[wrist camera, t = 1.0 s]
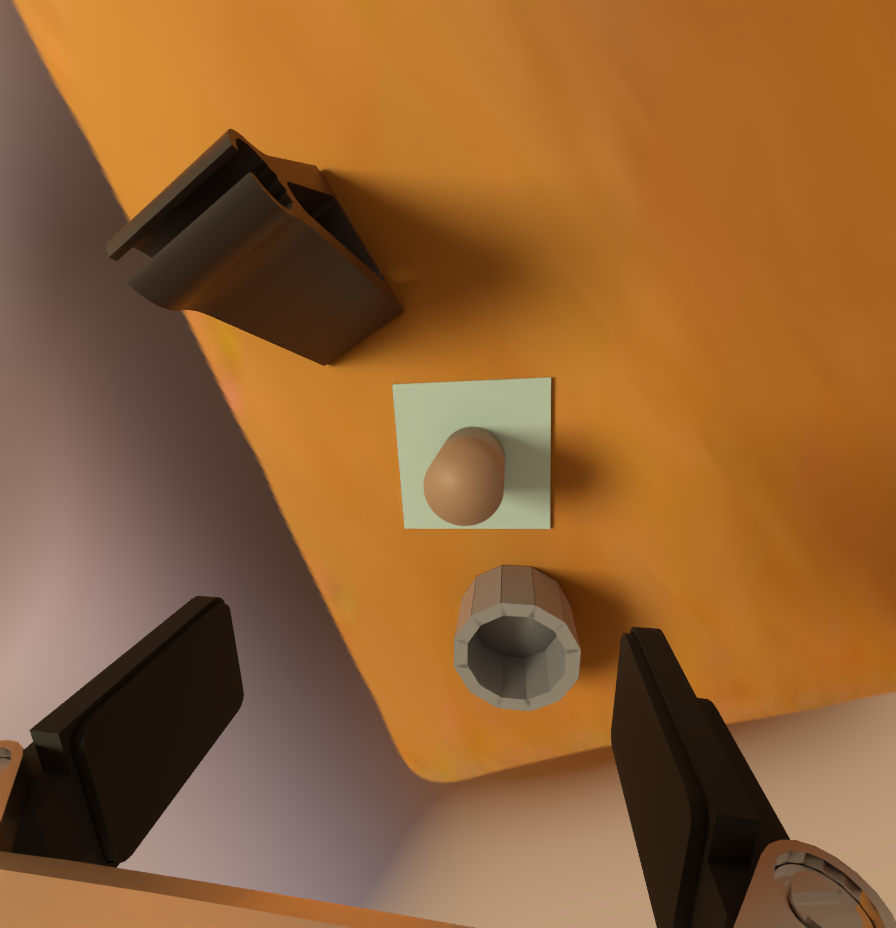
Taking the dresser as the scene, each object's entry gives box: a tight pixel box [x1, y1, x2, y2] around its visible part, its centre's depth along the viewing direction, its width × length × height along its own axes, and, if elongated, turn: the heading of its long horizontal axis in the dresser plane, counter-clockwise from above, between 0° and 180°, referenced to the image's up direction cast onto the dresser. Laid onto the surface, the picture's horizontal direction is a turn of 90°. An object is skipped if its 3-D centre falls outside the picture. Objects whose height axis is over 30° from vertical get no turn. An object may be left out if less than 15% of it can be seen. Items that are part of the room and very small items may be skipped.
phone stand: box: [107, 129, 404, 366], centre depth 20 cm, size 9×6×12 cm, turn 32°
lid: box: [392, 377, 551, 529], centre depth 25 cm, size 10×10×7 cm
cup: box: [454, 565, 581, 711], centre depth 28 cm, size 7×7×4 cm
